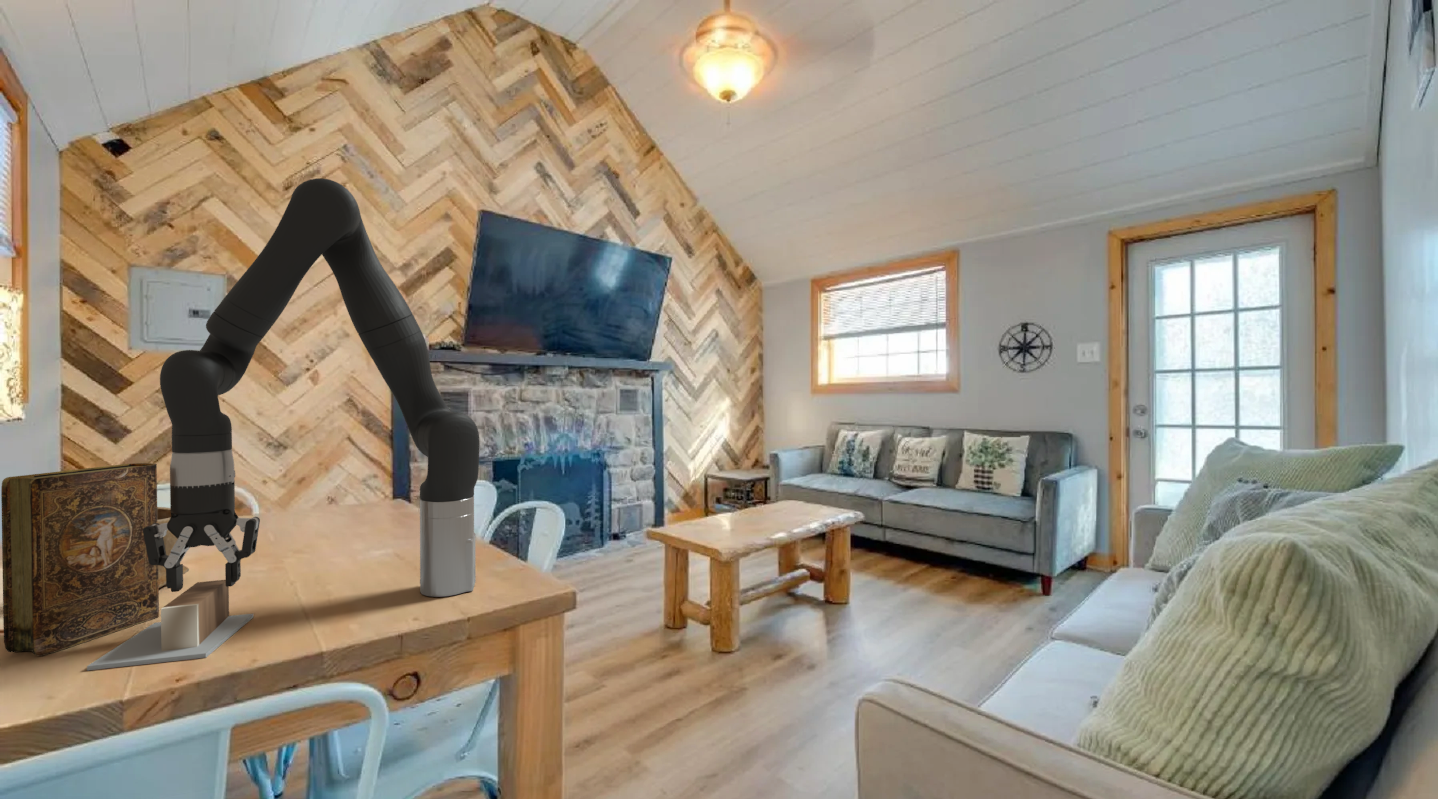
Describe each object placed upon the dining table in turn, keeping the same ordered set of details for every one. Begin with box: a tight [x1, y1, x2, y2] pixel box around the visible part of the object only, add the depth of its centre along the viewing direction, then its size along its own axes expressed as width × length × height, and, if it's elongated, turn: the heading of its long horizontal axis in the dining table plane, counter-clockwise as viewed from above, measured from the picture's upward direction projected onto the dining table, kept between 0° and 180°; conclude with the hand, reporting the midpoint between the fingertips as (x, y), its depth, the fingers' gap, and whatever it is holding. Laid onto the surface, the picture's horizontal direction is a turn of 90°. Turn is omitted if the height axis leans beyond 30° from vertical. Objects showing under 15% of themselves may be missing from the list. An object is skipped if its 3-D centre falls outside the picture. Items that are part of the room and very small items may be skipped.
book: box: [0, 462, 160, 657], centre depth 90 cm, size 16×6×25 cm, turn 168°
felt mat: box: [86, 613, 254, 671], centre depth 88 cm, size 13×15×1 cm
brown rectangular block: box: [160, 579, 230, 651], centre depth 89 cm, size 4×6×12 cm
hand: (204, 587), depth 92 cm, fingers open, 6 cm apart
